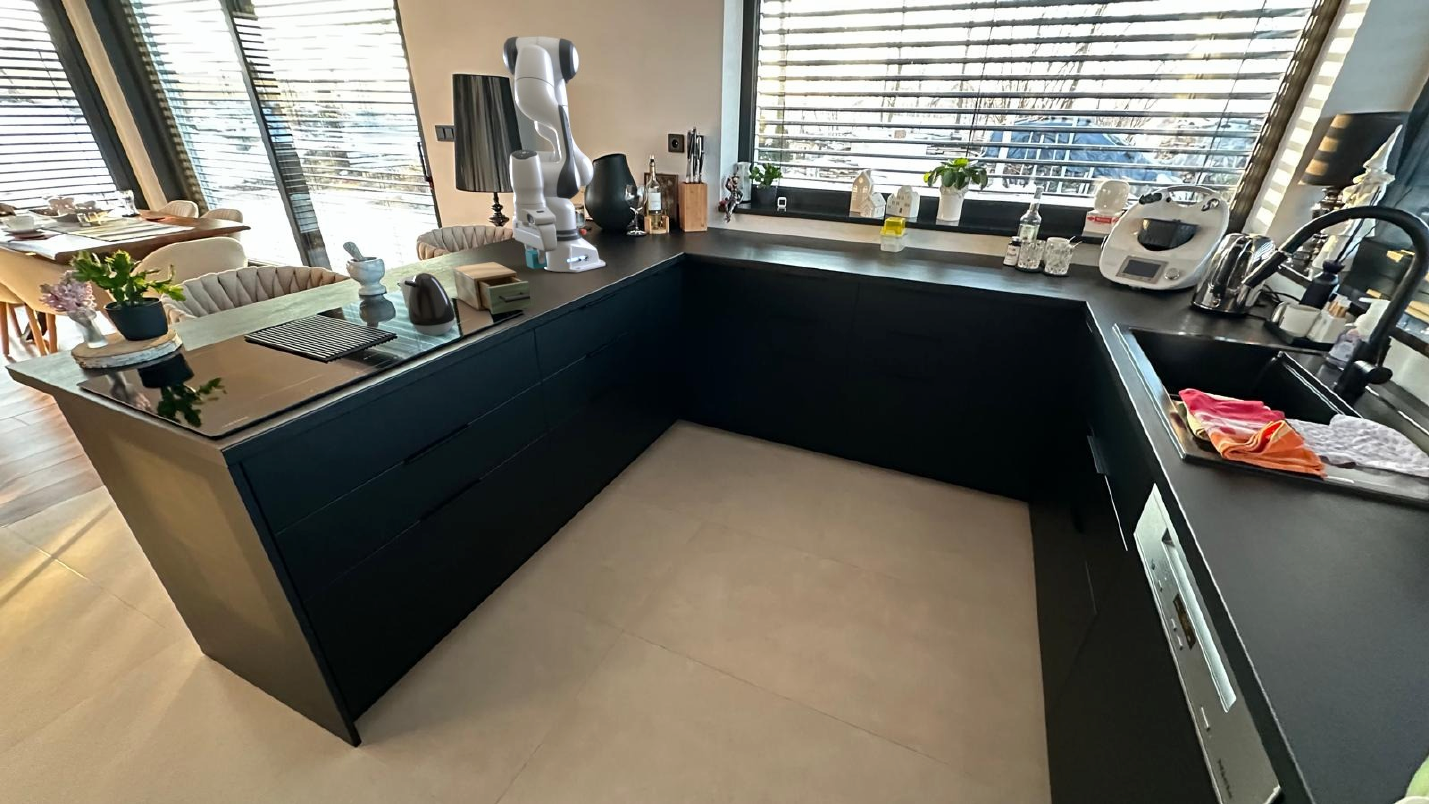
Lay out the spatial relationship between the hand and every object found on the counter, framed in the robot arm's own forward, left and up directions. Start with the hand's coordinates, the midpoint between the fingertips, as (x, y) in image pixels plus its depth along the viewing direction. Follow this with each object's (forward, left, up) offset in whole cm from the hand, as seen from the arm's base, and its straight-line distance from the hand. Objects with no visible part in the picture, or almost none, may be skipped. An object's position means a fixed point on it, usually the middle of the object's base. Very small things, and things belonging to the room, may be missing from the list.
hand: (536, 261), depth 165 cm
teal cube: (0, 0, -2) cm, 2 cm away
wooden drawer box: (+13, -7, -11) cm, 19 cm away
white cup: (+33, -3, -11) cm, 35 cm away
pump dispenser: (+35, +12, -11) cm, 39 cm away
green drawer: (+13, +5, -10) cm, 17 cm away
